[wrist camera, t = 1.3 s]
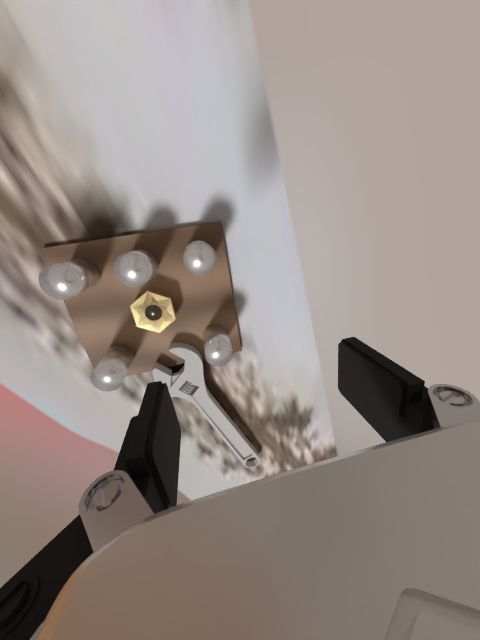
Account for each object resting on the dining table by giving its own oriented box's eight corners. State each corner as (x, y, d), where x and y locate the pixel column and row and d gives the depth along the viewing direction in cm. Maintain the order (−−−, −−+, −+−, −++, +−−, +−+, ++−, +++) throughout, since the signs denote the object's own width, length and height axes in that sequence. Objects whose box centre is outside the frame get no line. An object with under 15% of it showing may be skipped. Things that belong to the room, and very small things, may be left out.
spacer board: (43, 247, 23) (40, 248, 23) (220, 221, 26) (220, 221, 25) (101, 379, 29) (99, 382, 29) (240, 349, 32) (241, 350, 31)
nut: (126, 307, 26) (121, 313, 24) (158, 280, 26) (155, 283, 24) (154, 332, 28) (151, 339, 26) (184, 306, 28) (183, 312, 26)
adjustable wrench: (260, 454, 39) (263, 464, 38) (226, 471, 39) (227, 481, 38) (190, 336, 29) (189, 342, 27) (142, 358, 29) (139, 366, 27)
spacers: (63, 261, 24) (32, 267, 19) (209, 238, 26) (213, 239, 21) (108, 369, 28) (91, 395, 24) (228, 343, 30) (235, 362, 26)
